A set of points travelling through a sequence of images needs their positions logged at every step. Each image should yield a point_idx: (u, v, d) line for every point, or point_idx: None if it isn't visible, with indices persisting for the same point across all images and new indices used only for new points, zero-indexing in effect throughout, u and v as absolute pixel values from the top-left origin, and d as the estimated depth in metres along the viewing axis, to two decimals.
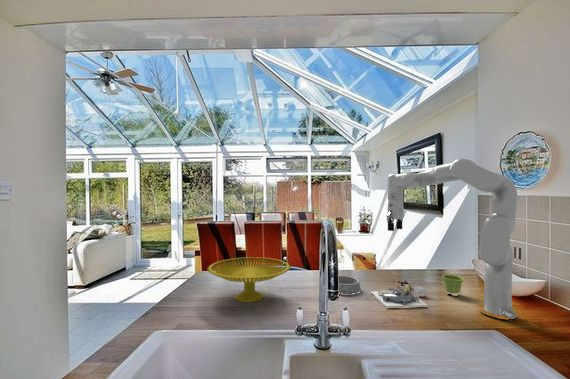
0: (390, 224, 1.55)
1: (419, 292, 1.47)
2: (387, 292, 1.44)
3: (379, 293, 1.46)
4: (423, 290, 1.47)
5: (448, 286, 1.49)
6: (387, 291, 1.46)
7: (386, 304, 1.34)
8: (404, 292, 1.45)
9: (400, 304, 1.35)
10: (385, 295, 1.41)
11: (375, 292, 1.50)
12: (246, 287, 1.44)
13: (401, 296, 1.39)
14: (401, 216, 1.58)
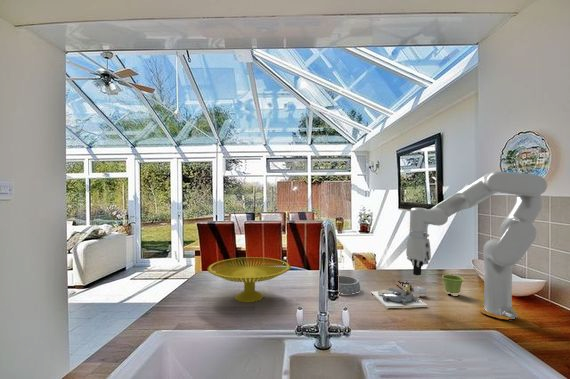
0: (420, 268, 1.37)
1: (419, 292, 1.47)
2: (387, 292, 1.44)
3: (379, 293, 1.46)
4: (423, 290, 1.47)
5: (448, 286, 1.49)
6: (387, 291, 1.46)
7: (386, 304, 1.34)
8: (404, 292, 1.45)
9: (400, 304, 1.35)
10: (385, 295, 1.41)
11: (375, 292, 1.50)
12: (246, 287, 1.44)
13: (401, 296, 1.39)
14: None
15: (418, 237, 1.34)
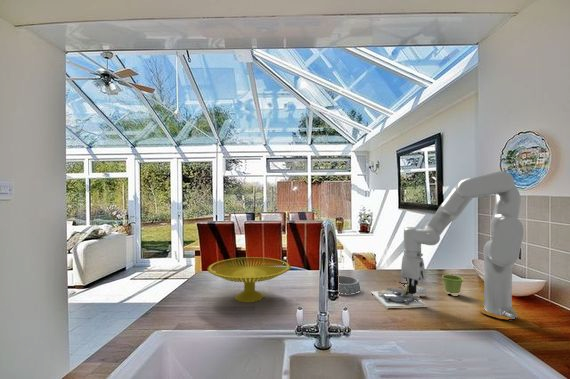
0: (415, 286, 1.40)
1: (419, 292, 1.47)
2: (387, 292, 1.44)
3: (379, 294, 1.45)
4: (423, 290, 1.47)
5: (448, 286, 1.49)
6: (387, 291, 1.45)
7: (386, 304, 1.34)
8: (403, 292, 1.45)
9: (400, 304, 1.35)
10: (386, 296, 1.40)
11: (375, 292, 1.50)
12: (246, 287, 1.44)
13: (402, 296, 1.40)
14: None
15: (412, 257, 1.37)
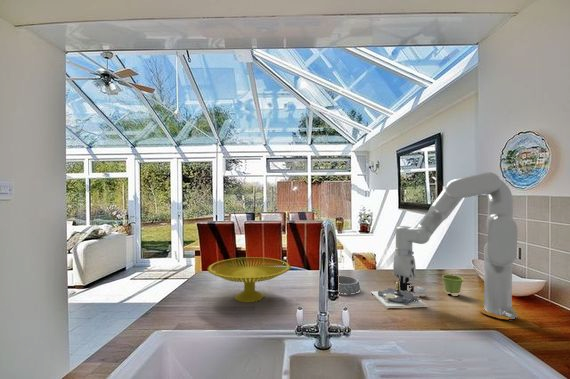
0: (406, 284, 1.44)
1: (419, 292, 1.47)
2: (393, 296, 1.40)
3: (388, 300, 1.37)
4: (423, 290, 1.47)
5: (448, 286, 1.49)
6: (390, 295, 1.41)
7: (386, 304, 1.34)
8: (393, 290, 1.47)
9: (400, 304, 1.35)
10: (401, 299, 1.36)
11: (375, 292, 1.50)
12: (246, 287, 1.44)
13: (404, 294, 1.42)
14: None
15: (403, 255, 1.42)
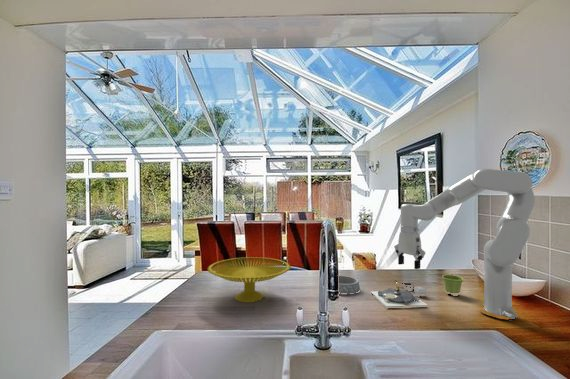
0: (419, 261, 1.38)
1: (419, 292, 1.47)
2: (393, 296, 1.40)
3: (388, 300, 1.37)
4: (423, 290, 1.47)
5: (448, 286, 1.49)
6: (390, 295, 1.41)
7: (386, 304, 1.34)
8: (393, 290, 1.47)
9: (400, 304, 1.35)
10: (401, 299, 1.36)
11: (375, 292, 1.50)
12: (246, 287, 1.44)
13: (404, 294, 1.42)
14: None
15: (409, 232, 1.39)
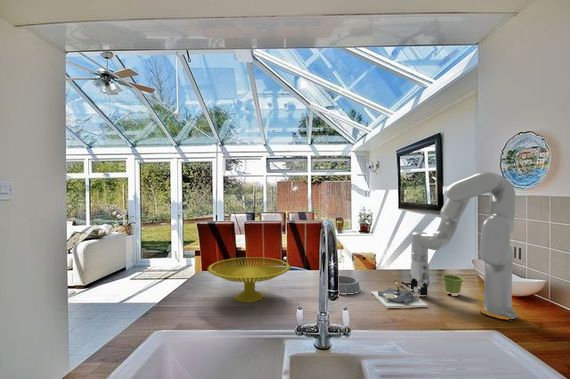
0: (425, 288, 1.44)
1: (419, 292, 1.47)
2: (393, 296, 1.40)
3: (388, 300, 1.37)
4: None
5: (448, 286, 1.49)
6: (390, 295, 1.41)
7: (386, 304, 1.34)
8: (393, 290, 1.47)
9: (400, 304, 1.35)
10: (401, 299, 1.36)
11: (375, 292, 1.50)
12: (246, 287, 1.44)
13: (404, 294, 1.42)
14: None
15: (416, 259, 1.47)
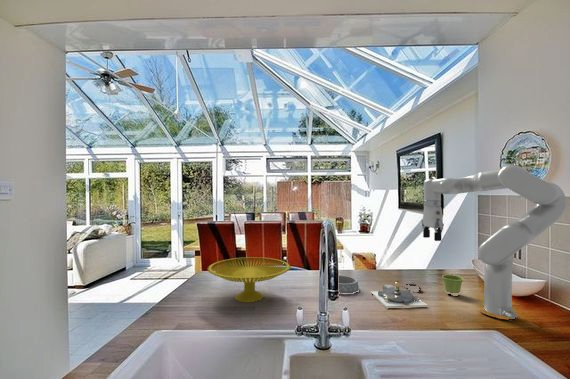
0: (439, 234, 1.42)
1: (387, 290, 1.39)
2: (393, 296, 1.40)
3: (388, 300, 1.37)
4: (392, 288, 1.40)
5: (448, 286, 1.49)
6: None
7: (386, 304, 1.34)
8: None
9: (400, 304, 1.35)
10: (401, 299, 1.36)
11: (375, 292, 1.50)
12: (246, 287, 1.44)
13: (404, 294, 1.42)
14: None
15: (429, 205, 1.45)
